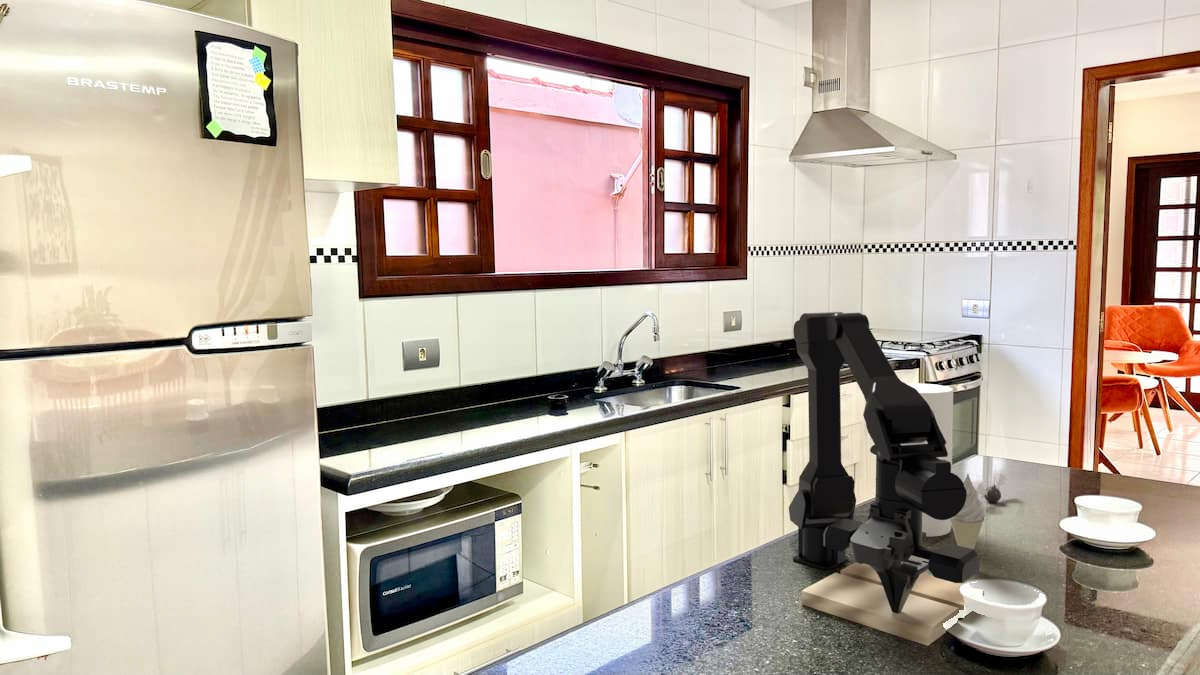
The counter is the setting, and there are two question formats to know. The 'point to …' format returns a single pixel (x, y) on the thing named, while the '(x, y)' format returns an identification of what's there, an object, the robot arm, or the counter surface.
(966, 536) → the ice cream cone
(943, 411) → the tall pillar cylinder
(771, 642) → the counter surface
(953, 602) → the floor strip
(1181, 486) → the counter surface
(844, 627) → the counter surface
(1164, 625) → the counter surface
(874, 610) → the oak plank
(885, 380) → the robot arm
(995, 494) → the bat toy
